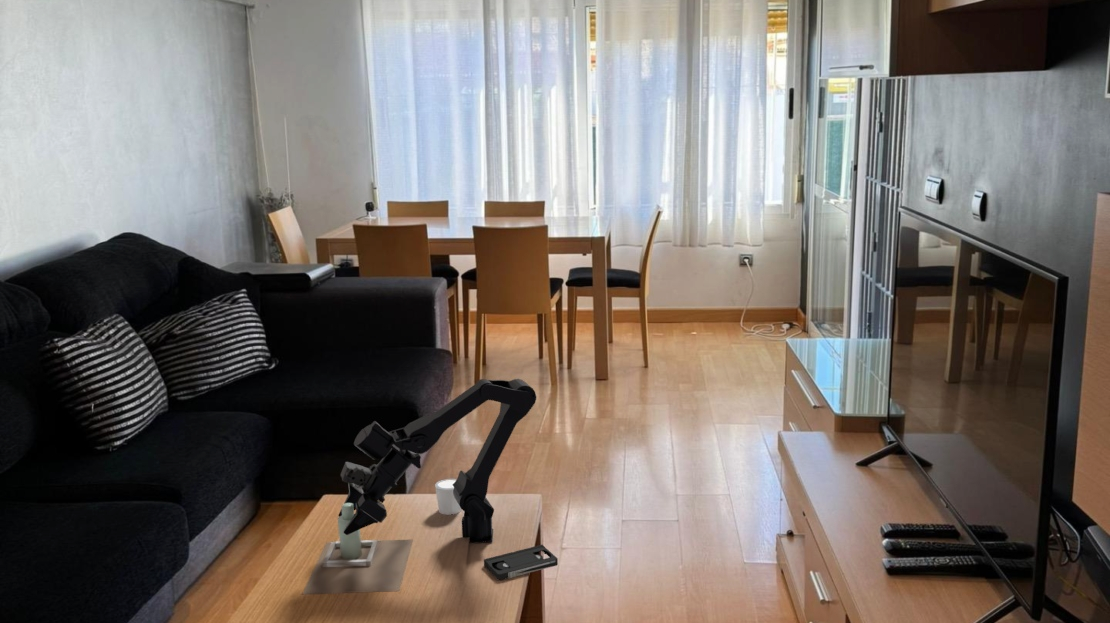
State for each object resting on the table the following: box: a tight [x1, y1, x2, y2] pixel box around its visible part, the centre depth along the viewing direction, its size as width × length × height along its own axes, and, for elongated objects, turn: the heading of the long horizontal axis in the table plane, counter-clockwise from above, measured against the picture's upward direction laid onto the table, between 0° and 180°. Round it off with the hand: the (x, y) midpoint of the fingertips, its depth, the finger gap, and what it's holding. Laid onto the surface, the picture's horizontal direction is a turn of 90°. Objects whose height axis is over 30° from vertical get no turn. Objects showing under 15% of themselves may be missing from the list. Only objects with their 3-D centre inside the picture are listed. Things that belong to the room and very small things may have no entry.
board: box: [301, 538, 414, 596], centre depth 216 cm, size 20×24×2 cm
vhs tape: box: [483, 544, 559, 582], centre depth 216 cm, size 14×8×2 cm, turn 117°
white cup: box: [434, 478, 463, 516], centre depth 245 cm, size 7×7×7 cm
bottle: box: [337, 503, 362, 560], centre depth 219 cm, size 5×5×12 cm
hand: (342, 525), depth 219 cm, fingers open, 9 cm apart
